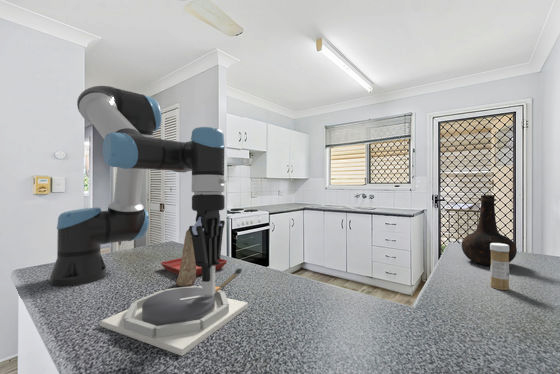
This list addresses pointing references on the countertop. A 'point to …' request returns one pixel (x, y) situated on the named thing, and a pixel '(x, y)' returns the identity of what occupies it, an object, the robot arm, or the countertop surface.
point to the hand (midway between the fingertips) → (208, 293)
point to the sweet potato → (187, 263)
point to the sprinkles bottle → (499, 266)
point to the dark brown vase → (486, 235)
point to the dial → (177, 306)
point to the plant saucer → (175, 264)
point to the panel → (180, 339)
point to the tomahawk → (230, 278)
